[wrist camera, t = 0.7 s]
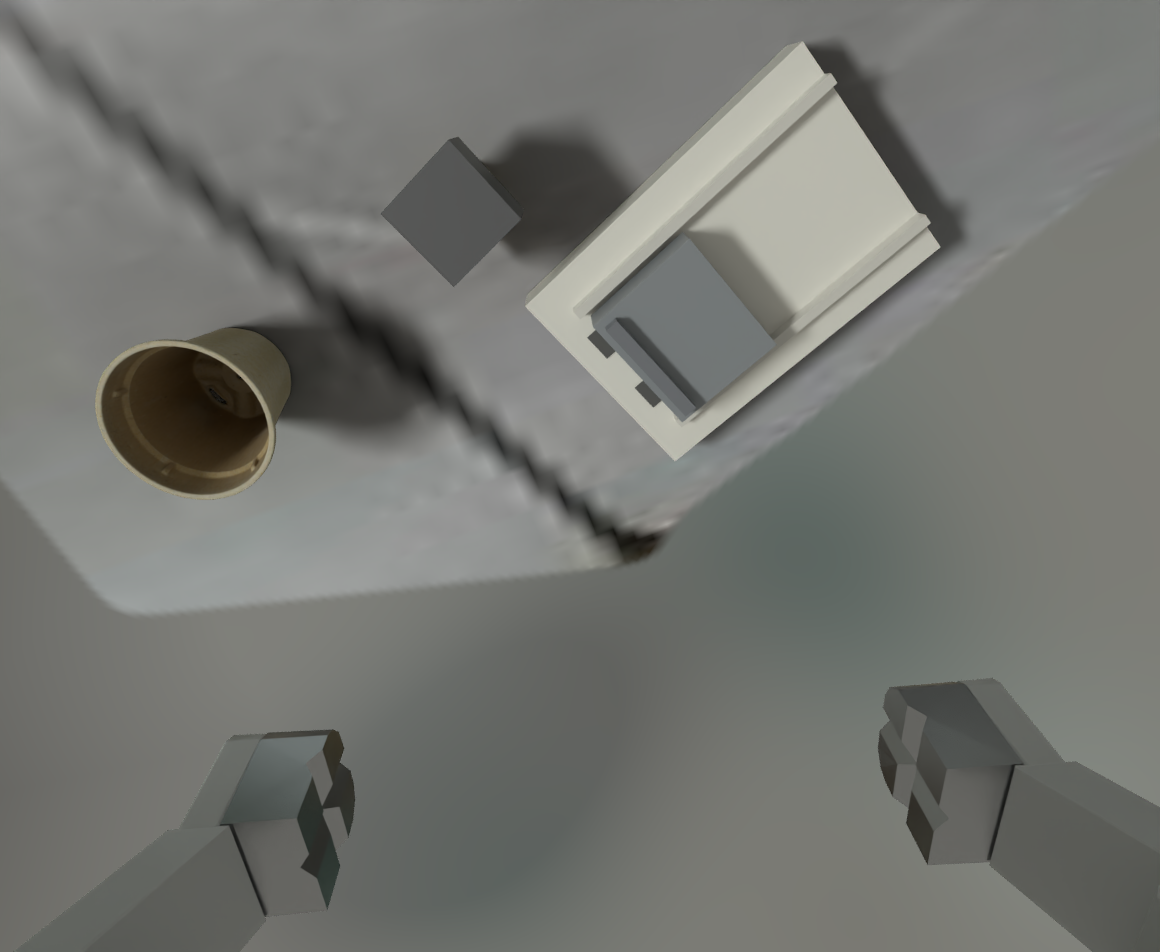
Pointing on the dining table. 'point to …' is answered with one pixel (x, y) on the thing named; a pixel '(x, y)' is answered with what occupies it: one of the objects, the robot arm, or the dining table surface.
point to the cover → (682, 328)
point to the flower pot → (195, 411)
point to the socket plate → (749, 237)
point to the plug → (453, 211)
